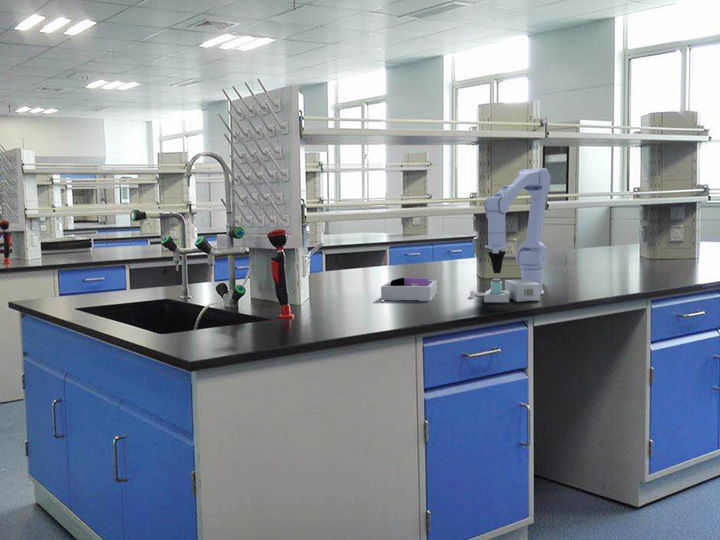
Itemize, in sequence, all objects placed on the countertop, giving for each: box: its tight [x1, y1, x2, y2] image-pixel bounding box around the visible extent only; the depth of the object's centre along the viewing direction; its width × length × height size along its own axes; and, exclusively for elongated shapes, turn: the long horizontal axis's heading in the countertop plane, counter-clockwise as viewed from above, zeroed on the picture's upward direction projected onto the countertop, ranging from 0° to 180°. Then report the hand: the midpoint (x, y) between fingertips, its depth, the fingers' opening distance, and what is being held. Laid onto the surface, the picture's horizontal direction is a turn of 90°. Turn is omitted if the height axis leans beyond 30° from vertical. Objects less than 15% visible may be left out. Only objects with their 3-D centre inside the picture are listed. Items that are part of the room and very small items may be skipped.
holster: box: [469, 288, 491, 299], centre depth 265 cm, size 6×7×2 cm
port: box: [483, 290, 511, 304], centre depth 255 cm, size 10×8×3 cm
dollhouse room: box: [390, 277, 430, 286], centre depth 268 cm, size 12×12×7 cm
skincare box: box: [504, 278, 541, 303], centre depth 259 cm, size 8×6×15 cm
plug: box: [490, 278, 503, 294], centre depth 255 cm, size 4×4×7 cm
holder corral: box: [380, 280, 438, 302], centre depth 269 cm, size 17×17×5 cm
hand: (497, 273), depth 254 cm, fingers closed
